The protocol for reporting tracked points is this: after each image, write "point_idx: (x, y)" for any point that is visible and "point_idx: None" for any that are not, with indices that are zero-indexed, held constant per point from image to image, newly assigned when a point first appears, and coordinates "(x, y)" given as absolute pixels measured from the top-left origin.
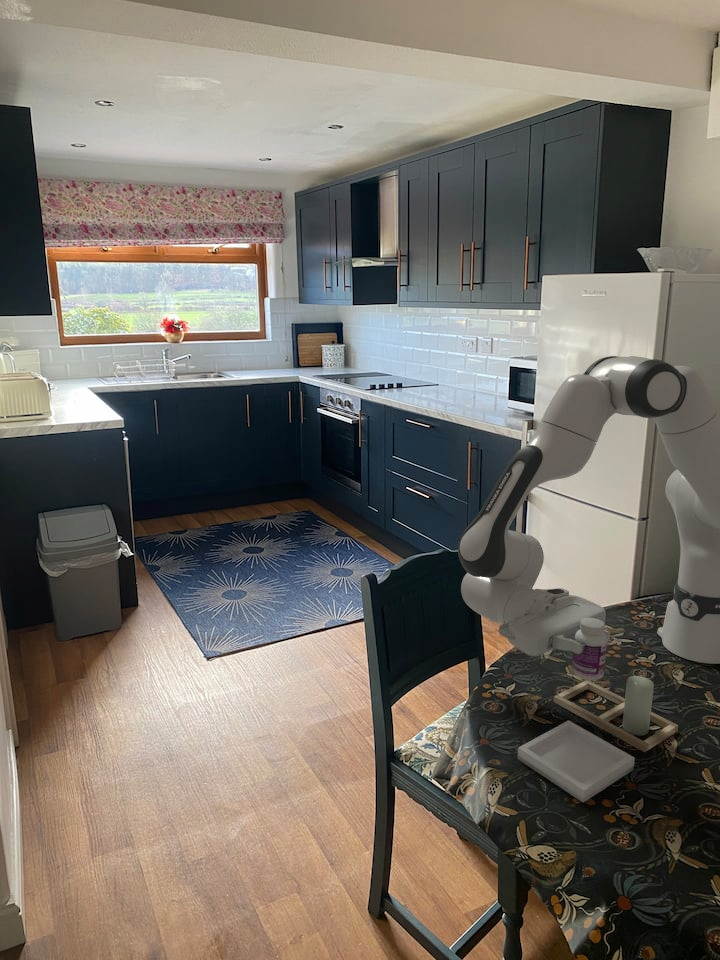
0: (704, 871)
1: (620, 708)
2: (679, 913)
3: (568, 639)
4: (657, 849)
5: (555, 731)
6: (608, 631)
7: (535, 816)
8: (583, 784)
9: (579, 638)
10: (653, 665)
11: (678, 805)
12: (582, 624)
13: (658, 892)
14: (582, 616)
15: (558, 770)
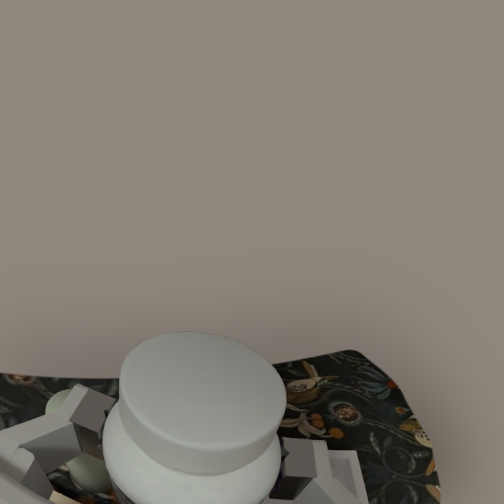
0: (310, 361)
1: (60, 495)
2: (360, 362)
3: (336, 494)
4: (326, 389)
5: None
6: (76, 385)
7: (411, 473)
8: (349, 457)
9: (278, 465)
10: None
11: None
12: (282, 414)
13: (361, 374)
14: (2, 501)
15: (360, 491)
